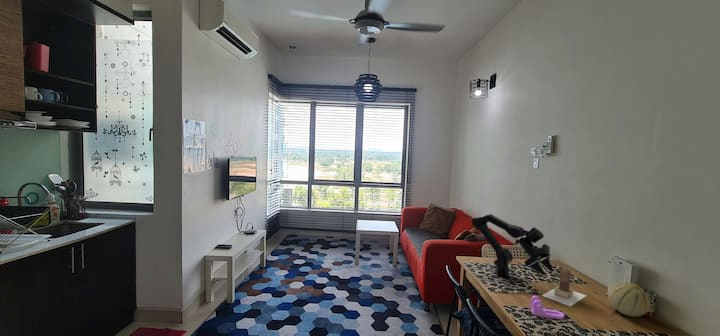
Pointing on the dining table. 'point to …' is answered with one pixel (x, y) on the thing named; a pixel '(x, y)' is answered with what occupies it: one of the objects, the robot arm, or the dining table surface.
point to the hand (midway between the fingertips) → (548, 273)
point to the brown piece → (564, 285)
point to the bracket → (540, 311)
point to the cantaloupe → (629, 299)
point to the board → (569, 302)
